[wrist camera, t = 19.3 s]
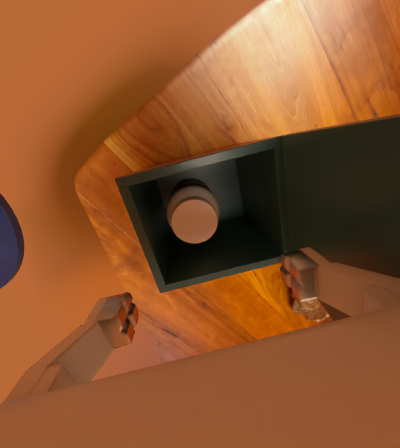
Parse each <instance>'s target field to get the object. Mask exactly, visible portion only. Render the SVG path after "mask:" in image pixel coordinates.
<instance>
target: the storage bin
mask: <svg viewBox="0 0 400 448" xmlns="http://www.w3.org/2000/svg"><path fill="white" fill-rule="evenodd" d="M185 179H198V180H200V181H202V182H204V183H205V184H206V185H207V186H208V187H209V189H210V191H211V192H212V193H213V195H214V196H215V198H216V200H217V202H218V204H219V209H220V215H219V220H218V225H217V228H216V231H215V233H214V234H213V235H212V236H211V237H210V238H209V239H208V240H206V241H204V242H201V243H188V242H185V241H183V240H181V239H180V238H178V237H177V236H176V234H175V233H174V231H173V229H172V228H171V226H170V225H169V223H168V220H167V215H166V210H167V205H168V202H169V199H170V196H171V194H172V191H173V189H174V187H175V186H176V185H177V184H178V183H179V182H181V181H183V180H185ZM115 181H116V183H117V186H118V188H119V191H120V193H121V196H122V199H123V201H124V204H125V206H126V209H127V211H128V214H129V216H130V219H131V221H132V224H133V226H134V229H135V231H136V234H137V236H138V239H139V241H140V244H141V246H142V249H143V251H144V254H145V256H146V259H147V261H148V264H149V266H150V269H151V271H152V274H153V276H154V279H155V281H156V284H157V286H158V288H159V291H160V293H163V292H167V291H171V290H175V289H179V288H183V287H187V286H191V285H195V284H199V283H203V282H207V281H210V280H214V279H218V278H222V277H226V276H230V275H234V274H238V273H242V272H246V271H250V270H254V269H258V268H262V267H266V266H270V265H274V264H278V263H280V262H279V256H280V254H284V253H288V252H290V245H289V231H288V218H287V205H286V192H285V179H284V165H283V152H282V139H281V136H277V137H272V138H266V139H261V140H256V141H251V142H246V143H240V144H236V145H232V146H228V147H224V148H220V149H216V150H212V151H208V152H205V153H201V154H197V155H193V156H189V157H185V158H181V159H178V160H174V161H170V162H166V163H162V164H158V165H154V166H150V167H147V168H144V169H141V170H138V171H136V172H133V173H130V174H127V175H124V176H121V177H119V178H116V179H115Z"/></svg>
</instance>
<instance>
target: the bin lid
mask: <svg viewBox="0 0 400 448" xmlns="http://www.w3.org/2000/svg"><path fill="white" fill-rule="evenodd" d="M281 139H282V152H283V165H284V179H285V192H286V205H287V218H288V231H289V245H290V252H292V251H296V250H299V249H302V248H306V247H310V248H312V249H313V250H314V251H316V252H317V253H319V254H320V255H321V256H323V257H324V258H325V259H327V260H328V261H330V262H331V263H333V262H336V263H340V264H344V265H348V266H352V267H356V268H360V269H364V270H368V271H373V272H377V273H381V274H385V275H389V276H393V277H397V278H400V114H397V115H391V116H385V117H380V118H374V119H369V120H363V121H357V122H352V123H346V124H341V125H335V126H330V127H324V128H318V129H313V130H307V131H302V132H296V133H291V134H287V135H283V136H281ZM317 299H318V298H317ZM318 301H319V302H320V303H321V305H322V306H323V307H324V309H325V310H326V311H327V313H328V314H329V315H330V317H331V318H332V319H333V321H336V320H340V319H344V318H348V317H351V316H349V315H347V314H345V313H343V312H341V311H339V310H337V309H335V308H334V307H332V306H330V305H328V304H326V303H324V302H322V301H320V300H318Z"/></svg>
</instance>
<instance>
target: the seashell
mask: <svg viewBox="0 0 400 448" xmlns="http://www.w3.org/2000/svg"><path fill="white" fill-rule="evenodd" d="M291 296H292V297H293V298H294V302H293V305H292V310H293V311H294V312H295V313H297V314H299V315H303V316H304V317H306V319H307V320H309V321H311V320H316V321H321V320H324V319H325V318H326V317H329V316H330V315H329V314H328V313H327V311H326V310H325V309H324V307H323V306H322V305H321V303H320V302H319V301H318V299H317V298H316V299H312V300H307V301H302V302H299V301H298V299H297V298H296V297H295V296H294V294H293V293H292V294H291Z"/></svg>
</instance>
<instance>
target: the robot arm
mask: <svg viewBox="0 0 400 448" xmlns="http://www.w3.org/2000/svg"><path fill="white" fill-rule="evenodd" d="M279 262H280V263H281V264H282V266H281V268H280V272H281V276H282V279H283V281H284V283H285V284H286V285H287V286H288V287H290V288H292V293H293V294H294V296H295V297H296V298H297V299H298V301H299V302H302V301H307V300H312V299H316V298H318V300H320V301H322V302H324V303H326V304H328V305H330V306H332V307H334V308H335V309H337V310H339V311H341V312H343V313H345V314H347V315H349V316H351V317H348V318H344V319H340V320H336V321H332V322H328V323H324V324H320V325H317V326H313V327H309V328H305V329H300V330H296V331H292V332H288V333H284V334H280V335H276V336H272V337H268V338H264V339H260V340H256V341H252V342H248V343H244V344H239V345H235V346H231V347H227V348H223V349H219V350H215V351H211V352H207V353H203V354H199V355H195V356H191V357H187V358H183V359H179V360H175V361H171V362H167V363H163V364H159V365H155V366H151V367H147V368H143V369H139V370H135V371H131V372H127V373H123V374H119V375H115V376H111V377H107V378H103V379H99V380H95V381H91V380H92V379H93V378H94V376H95V375H96V373H97V372H98V371H99V369H100V368H101V367H102V365H103V364H104V363H105V361H106V360H107V359H108V357H109V356H110V355H111V353H112V352H113V351H114V349H115V348H118V347H122V346H126V345H129V344H131V343H132V340H133V336H134V333H135V331H134V329H133V328H134V327H135V325H136V324H137V322H138V310H137V307H136V305H135V304H133V303H132V302H131V301H132V296H131V294H130V293H128V292H127V293H123V294H118V295H114V296H110V297H106V298H102V299H99V300H98V301H97V303H96V305H95V306H94V308H93V310H92V311H91V313H90V315H89V316H88V318H87V320H86V322H85V323H84V325H80V326H79V327H78V328H77V329H76V330H74V331H73V332H72V333H71V334H70V335H69V336H67V337H66V338H65V339H64V340H63V341H61V342H60V343H59V344H58V345H57V346H55V347H54V348H53V349H52V350H51V351H50V352H48V353H47V354H46V355H45V356H43V357H42V358H41V359H40V360H39V361H38V362H36V363H35V364H34V365H33V366H31V367H30V368H29V369H28V370H27V371H26V372H25V373H24V375H23V376H22V377H21V379H20V380H19V381H18V383H17V384H16V386H15V387H14V388H13V390H12V391H11V392H10V394H9V395H8V397H7V398H6V399H5V401H4V402H3V403H2V404H0V448H400V278H397V277H393V276H389V275H385V274H381V273H377V272H373V271H368V270H364V269H360V268H356V267H352V266H348V265H344V264H340V263H336V262H333V263H331V262H330V261H328V260H327V259H325V258H324V257H323V256H321V255H320V254H319V253H317V252H316V251H314V250H313V249H312V248H310V247H306V248H302V249H299V250H296V251H292V252H288V253H284V254H280V256H279Z"/></svg>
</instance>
